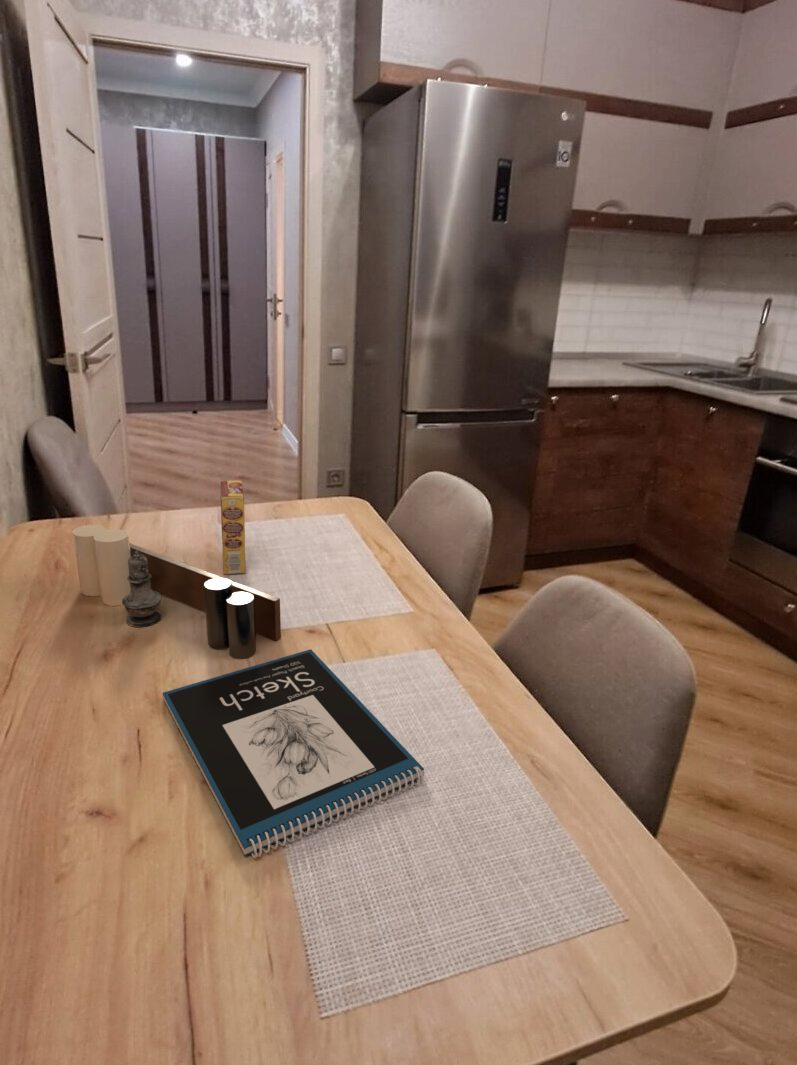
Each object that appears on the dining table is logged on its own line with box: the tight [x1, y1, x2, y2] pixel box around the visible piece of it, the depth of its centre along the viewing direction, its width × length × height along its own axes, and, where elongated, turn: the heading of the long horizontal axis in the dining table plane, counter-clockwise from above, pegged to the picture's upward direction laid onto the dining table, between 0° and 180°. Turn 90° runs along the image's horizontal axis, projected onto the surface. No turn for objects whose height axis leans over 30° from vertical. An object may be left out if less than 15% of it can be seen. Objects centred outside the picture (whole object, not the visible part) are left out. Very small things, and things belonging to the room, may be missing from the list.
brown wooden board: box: [129, 542, 282, 642], centre depth 110 cm, size 38×1×7 cm, turn 59°
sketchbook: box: [162, 648, 425, 860], centre depth 81 cm, size 22×30×2 cm
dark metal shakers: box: [204, 577, 257, 660], centre depth 98 cm, size 8×4×10 cm, turn 59°
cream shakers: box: [71, 523, 131, 607], centre depth 111 cm, size 11×5×12 cm, turn 59°
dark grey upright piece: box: [122, 550, 163, 628], centre depth 104 cm, size 6×6×12 cm
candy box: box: [219, 479, 246, 575], centre depth 123 cm, size 9×4×15 cm, turn 14°
